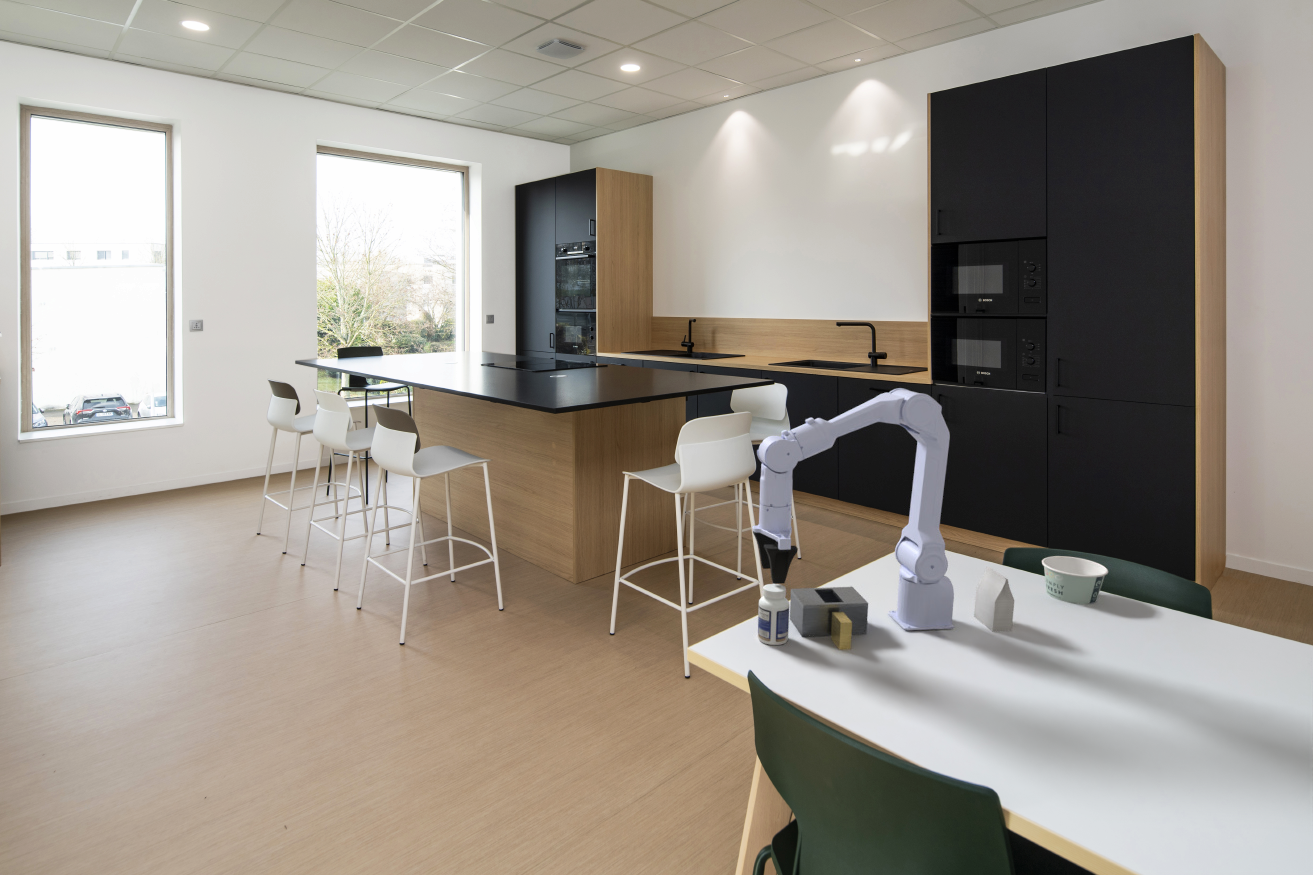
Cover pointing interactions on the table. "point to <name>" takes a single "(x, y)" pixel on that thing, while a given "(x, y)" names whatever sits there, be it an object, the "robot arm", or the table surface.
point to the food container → (1073, 579)
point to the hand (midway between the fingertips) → (773, 575)
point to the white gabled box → (994, 602)
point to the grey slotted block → (827, 609)
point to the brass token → (841, 630)
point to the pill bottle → (773, 615)
